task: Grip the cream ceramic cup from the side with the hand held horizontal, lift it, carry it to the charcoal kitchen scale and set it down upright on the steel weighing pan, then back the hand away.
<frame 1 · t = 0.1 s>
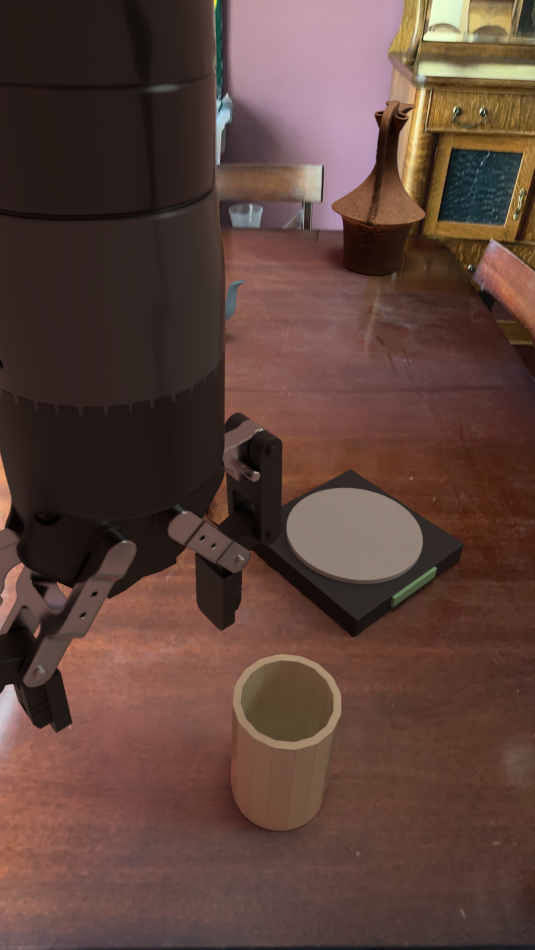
hand: (141, 661, 31), 20 cm above the table, tool pointing down, fingers open, 8 cm apart
teapot: (189, 335, 102), on the table
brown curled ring: (162, 522, 69), on the table
cup: (278, 783, 47), on the table
scale: (350, 551, 66), on the table
pitcher: (370, 266, 129), on the table
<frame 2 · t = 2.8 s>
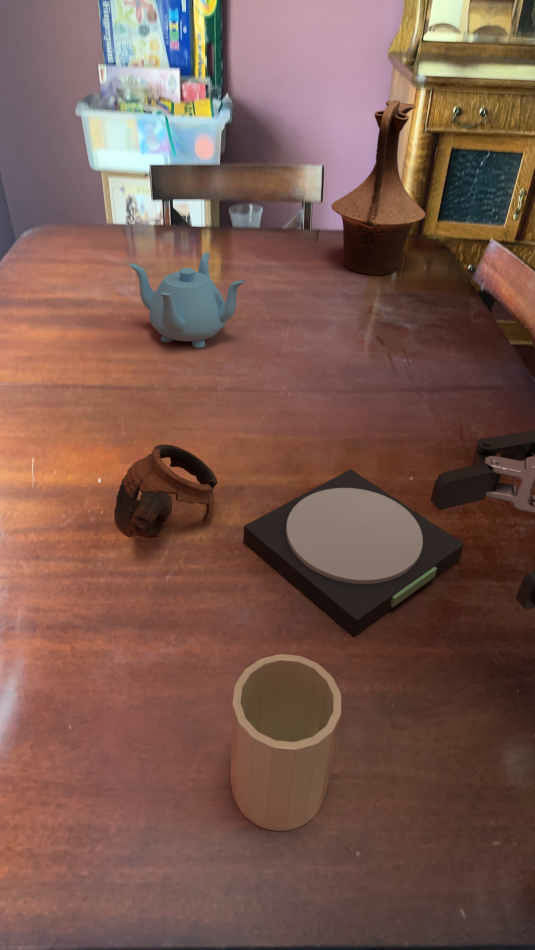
hand: (476, 539, 38), 20 cm above the table, tool horizontal, fingers open, 8 cm apart
nothing on the table moved.
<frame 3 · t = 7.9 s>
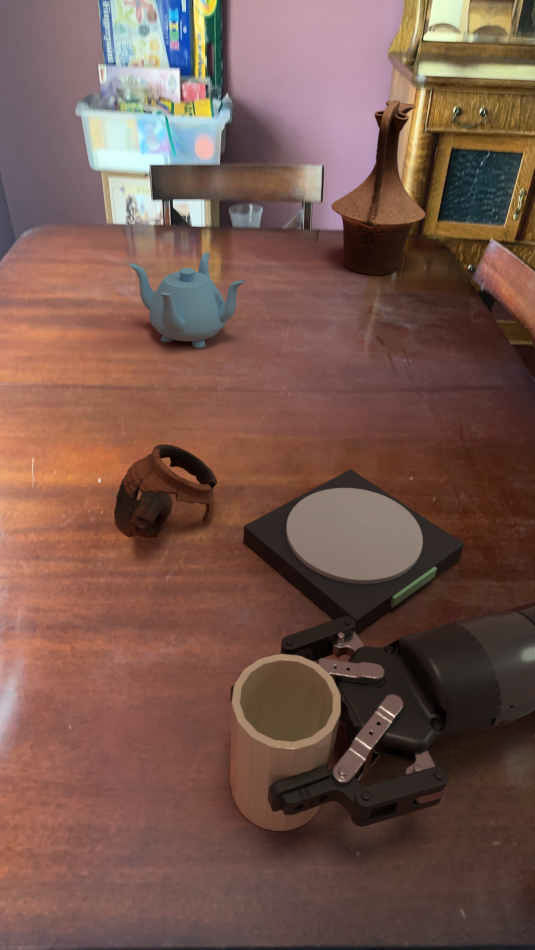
hand: (250, 745, 43), 6 cm above the table, tool horizontal, fingers closed on cup, 6 cm apart
cup: (278, 783, 47), on the table, touching gripper
everything else where it was.
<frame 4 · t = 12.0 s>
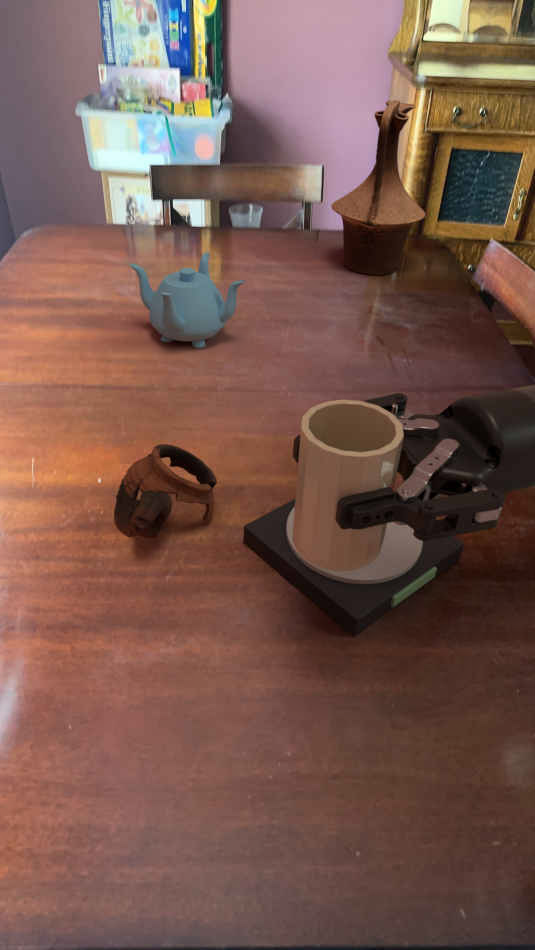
hand: (316, 481, 46), 18 cm above the table, tool horizontal, fingers closed on cup, 6 cm apart
cup: (337, 539, 50), point 12 cm above the table, touching gripper
everything else where it was.
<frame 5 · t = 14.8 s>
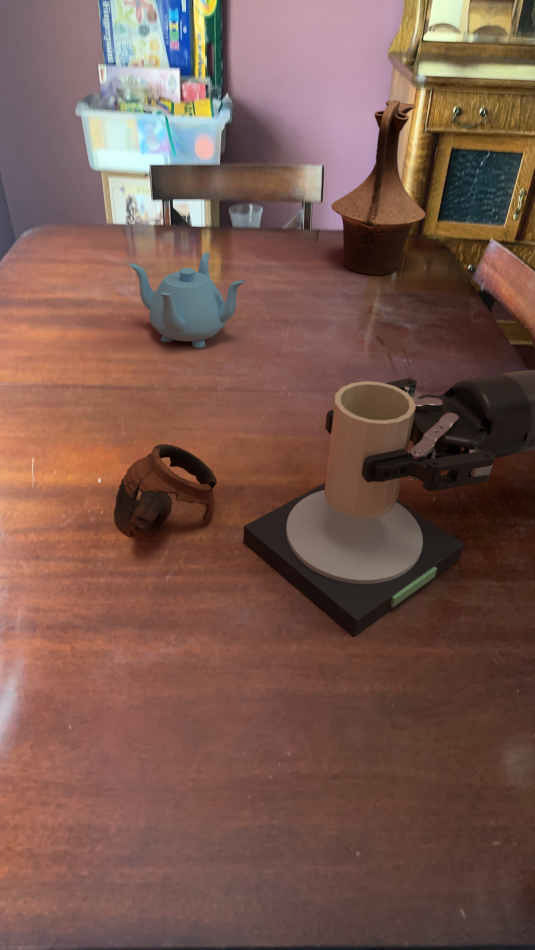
hand: (345, 445, 58), 13 cm above the table, tool horizontal, fingers closed on cup, 6 cm apart
cup: (360, 494, 62), point 7 cm above the table, touching gripper
everything else where it was.
when the fingers open (9 cm above the table, at t = 16.6 s): cup stays where it is, resting on scale.
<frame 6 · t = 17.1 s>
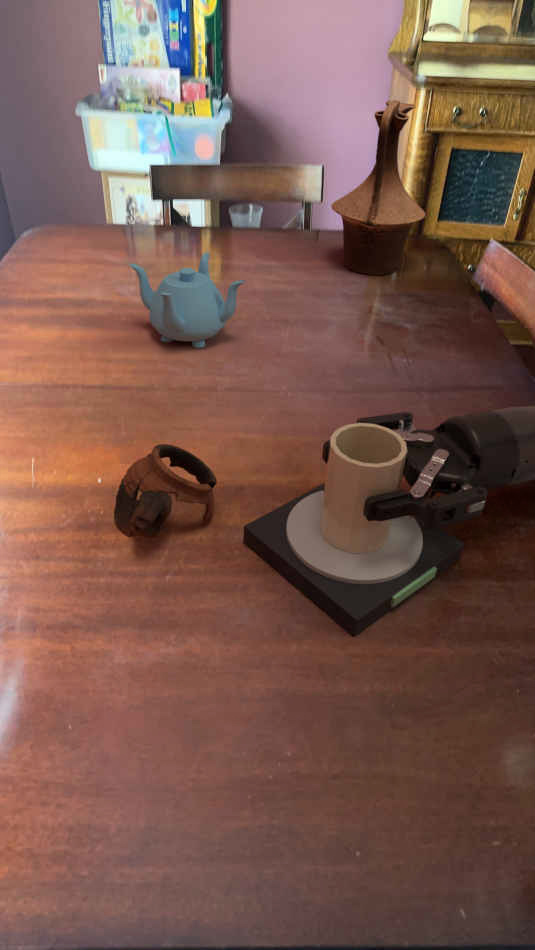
hand: (344, 480, 60), 9 cm above the table, tool horizontal, fingers open, 8 cm apart
cup: (354, 529, 64), point 3 cm above the table, touching scale
everything else where it was.
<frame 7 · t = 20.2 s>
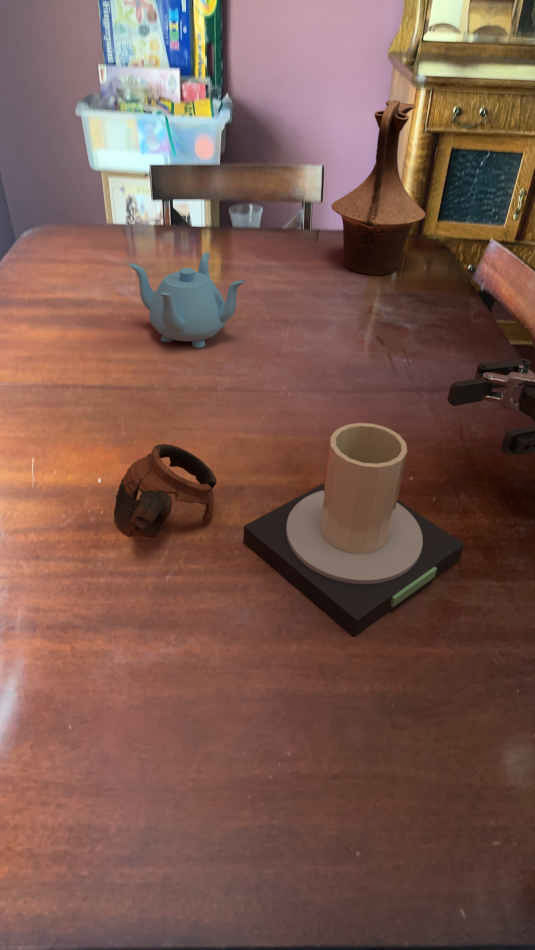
hand: (476, 418, 61), 13 cm above the table, tool horizontal, fingers open, 8 cm apart
nothing on the table moved.
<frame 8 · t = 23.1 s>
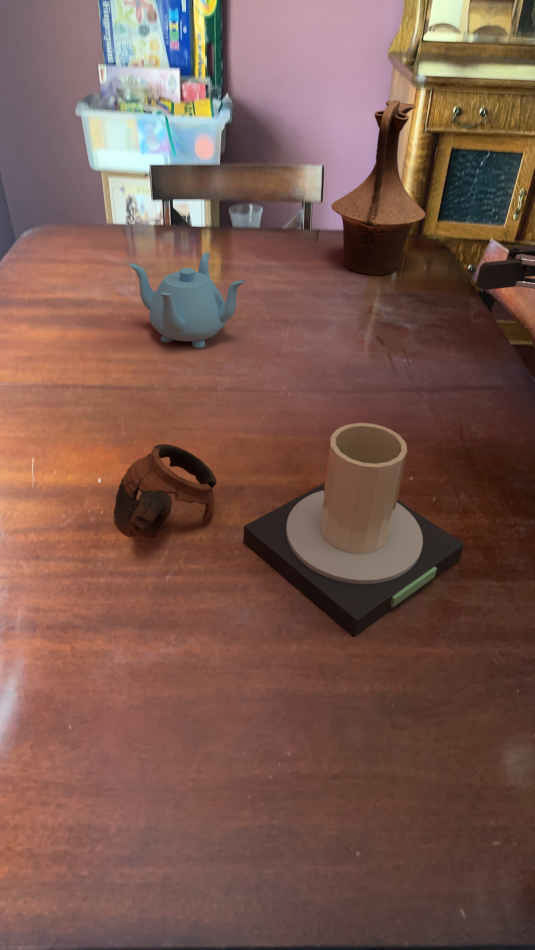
hand: (511, 296, 54), 25 cm above the table, tool horizontal, fingers open, 8 cm apart
nothing on the table moved.
at the end: cup inside the target area on the scale (0.0 cm from its centre), point 2.8 cm above the scale's base; cup tilted 0°; the gripper is holding nothing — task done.
